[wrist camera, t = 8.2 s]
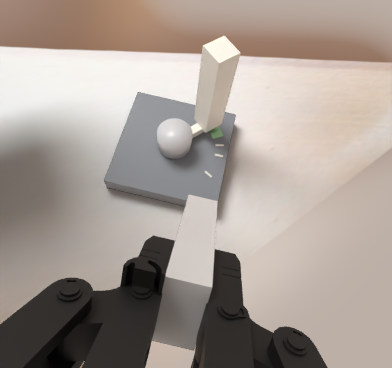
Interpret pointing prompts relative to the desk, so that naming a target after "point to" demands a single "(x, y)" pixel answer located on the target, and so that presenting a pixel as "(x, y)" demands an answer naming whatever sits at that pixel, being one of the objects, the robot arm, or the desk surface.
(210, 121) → the lever
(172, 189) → the dial plate
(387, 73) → the desk surface
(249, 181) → the desk surface
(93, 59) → the desk surface
